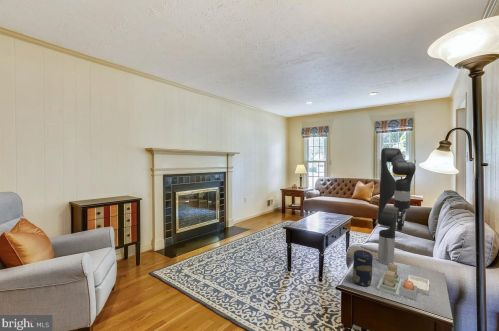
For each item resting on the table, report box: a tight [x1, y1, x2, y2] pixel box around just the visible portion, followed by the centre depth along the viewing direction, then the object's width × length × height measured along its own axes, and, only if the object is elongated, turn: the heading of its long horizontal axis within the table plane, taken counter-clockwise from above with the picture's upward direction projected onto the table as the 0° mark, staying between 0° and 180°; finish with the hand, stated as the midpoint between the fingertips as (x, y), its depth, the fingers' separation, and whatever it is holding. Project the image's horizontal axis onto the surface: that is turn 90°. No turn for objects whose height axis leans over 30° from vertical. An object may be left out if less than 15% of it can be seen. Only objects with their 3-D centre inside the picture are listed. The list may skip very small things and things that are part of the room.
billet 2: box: [384, 269, 395, 288], centre depth 129 cm, size 4×4×8 cm
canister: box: [352, 249, 373, 287], centre depth 136 cm, size 10×10×18 cm
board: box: [376, 273, 404, 297], centre depth 134 cm, size 19×10×3 cm, turn 142°
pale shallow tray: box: [406, 274, 430, 297], centre depth 133 cm, size 14×10×2 cm
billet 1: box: [387, 263, 398, 279], centre depth 138 cm, size 4×4×8 cm
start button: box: [403, 280, 414, 290], centre depth 125 cm, size 4×4×6 cm
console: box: [399, 281, 418, 301], centre depth 125 cm, size 7×7×4 cm
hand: (400, 228), depth 133 cm, fingers open, 8 cm apart
